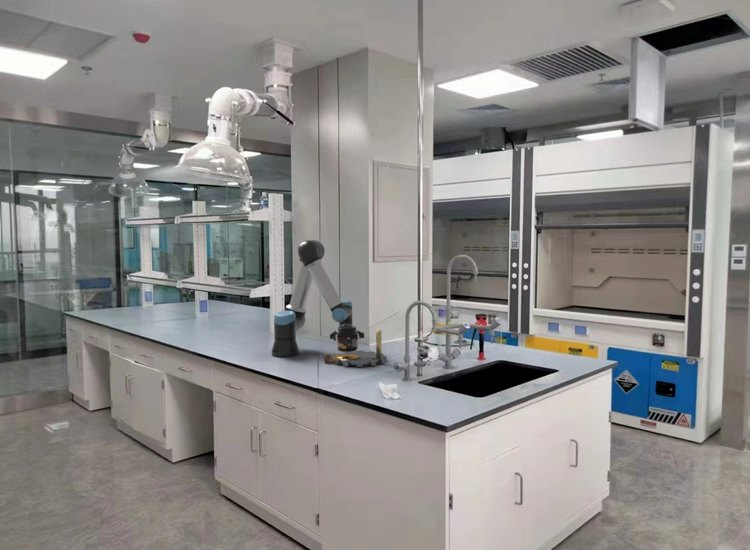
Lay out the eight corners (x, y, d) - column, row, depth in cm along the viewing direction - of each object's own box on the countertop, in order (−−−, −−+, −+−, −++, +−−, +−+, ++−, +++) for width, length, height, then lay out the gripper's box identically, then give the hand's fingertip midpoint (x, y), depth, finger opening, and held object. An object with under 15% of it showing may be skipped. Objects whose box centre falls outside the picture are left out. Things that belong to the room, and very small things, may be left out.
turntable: (321, 361, 266) (321, 330, 265) (356, 352, 288) (356, 323, 287) (363, 369, 249) (362, 336, 248) (397, 359, 271) (396, 328, 270)
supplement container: (333, 350, 268) (332, 327, 268) (349, 347, 275) (348, 324, 274) (345, 353, 260) (345, 329, 260) (362, 350, 267) (361, 326, 266)
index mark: (324, 363, 265) (324, 355, 265) (324, 361, 269) (324, 353, 269) (330, 363, 266) (330, 355, 265) (330, 361, 270) (330, 353, 269)
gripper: (367, 337, 286) (370, 345, 264) (325, 338, 285) (324, 346, 263) (367, 324, 286) (370, 330, 264) (325, 325, 284) (324, 332, 262)
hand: (347, 338), depth 263 cm, fingers closed on supplement container, 10 cm apart
